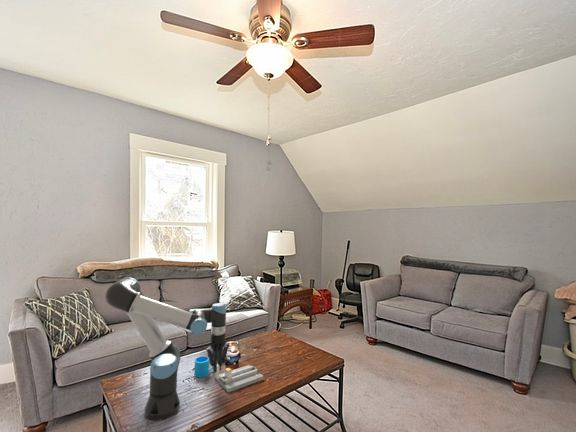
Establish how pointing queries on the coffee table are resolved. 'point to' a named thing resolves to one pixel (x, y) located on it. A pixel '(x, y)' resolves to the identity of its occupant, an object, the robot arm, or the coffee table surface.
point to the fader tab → (228, 373)
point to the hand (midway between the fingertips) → (216, 377)
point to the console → (240, 378)
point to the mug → (202, 366)
